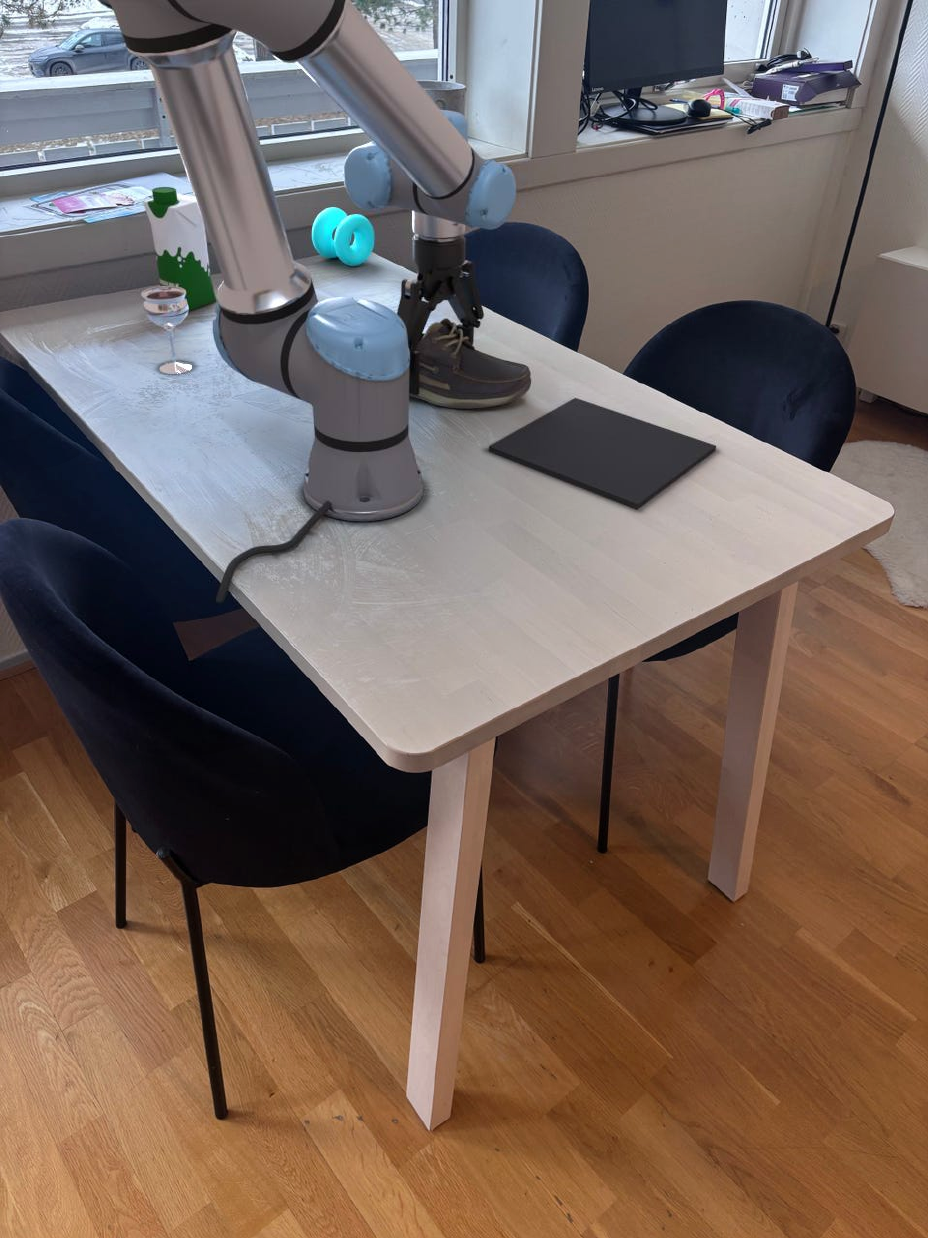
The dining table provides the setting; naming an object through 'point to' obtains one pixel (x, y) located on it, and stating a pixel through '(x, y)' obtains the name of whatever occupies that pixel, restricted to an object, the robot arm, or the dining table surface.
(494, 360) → the boat shoe
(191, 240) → the milk carton
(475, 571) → the dining table surface
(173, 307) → the wineglass
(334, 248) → the donuts
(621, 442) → the boot mat
